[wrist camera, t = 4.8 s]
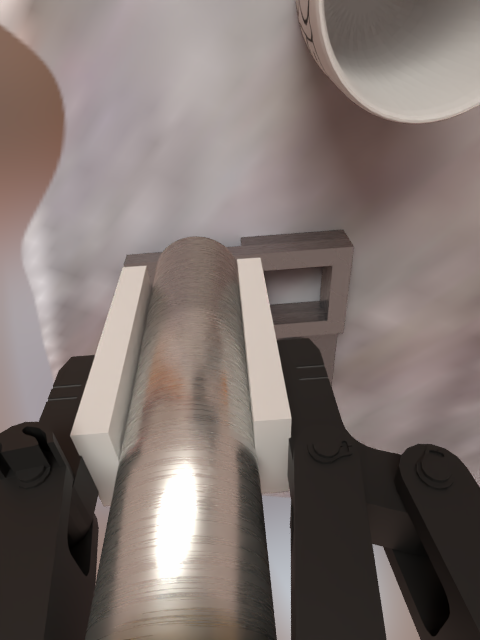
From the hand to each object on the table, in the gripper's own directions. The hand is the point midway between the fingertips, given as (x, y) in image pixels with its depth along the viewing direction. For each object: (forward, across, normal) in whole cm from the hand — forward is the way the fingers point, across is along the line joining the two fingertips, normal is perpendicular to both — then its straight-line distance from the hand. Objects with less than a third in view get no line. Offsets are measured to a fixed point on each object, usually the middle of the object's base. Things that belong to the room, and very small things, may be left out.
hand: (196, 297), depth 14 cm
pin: (+2, 0, 0) cm, 2 cm away
